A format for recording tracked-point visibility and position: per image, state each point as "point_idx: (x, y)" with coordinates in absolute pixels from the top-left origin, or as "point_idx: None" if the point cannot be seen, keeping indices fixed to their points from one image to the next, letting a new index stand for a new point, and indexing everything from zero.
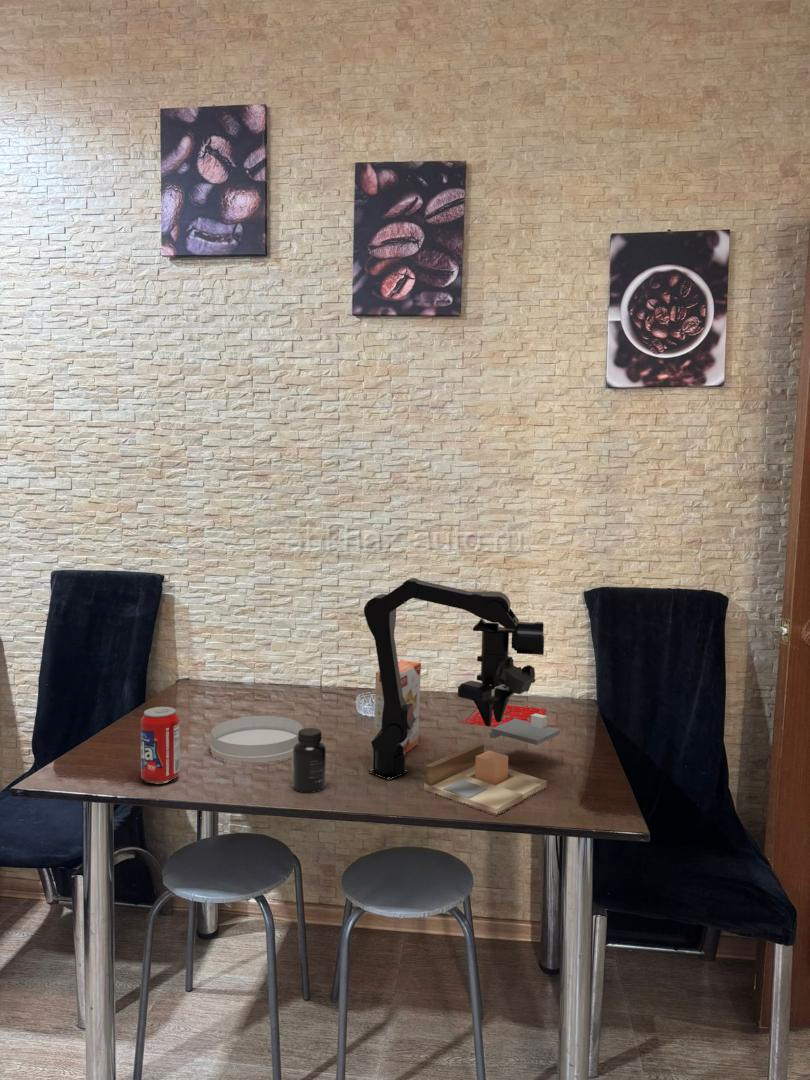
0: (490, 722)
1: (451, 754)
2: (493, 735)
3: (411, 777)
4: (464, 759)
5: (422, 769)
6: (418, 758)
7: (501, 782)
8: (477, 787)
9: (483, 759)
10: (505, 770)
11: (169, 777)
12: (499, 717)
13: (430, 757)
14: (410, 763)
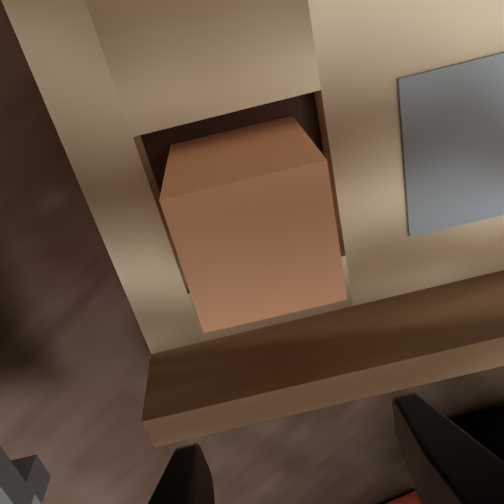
0: (429, 423)
1: (404, 388)
2: (33, 472)
3: (463, 386)
4: (320, 352)
5: (374, 421)
6: (310, 492)
7: (230, 135)
8: (432, 118)
9: (339, 245)
10: (191, 163)
11: None
12: (198, 497)
13: (267, 485)
14: (366, 472)
